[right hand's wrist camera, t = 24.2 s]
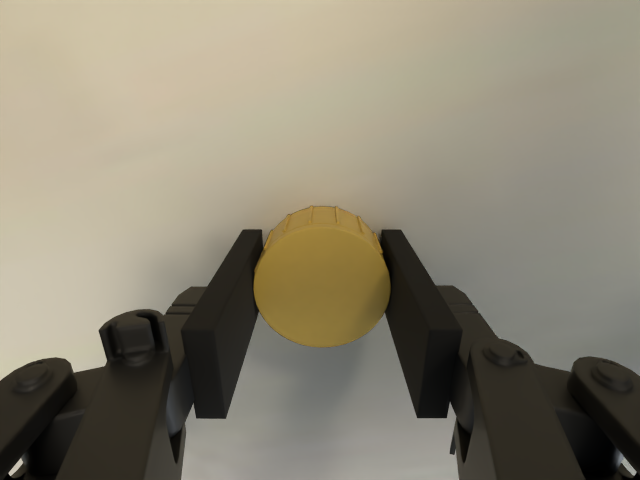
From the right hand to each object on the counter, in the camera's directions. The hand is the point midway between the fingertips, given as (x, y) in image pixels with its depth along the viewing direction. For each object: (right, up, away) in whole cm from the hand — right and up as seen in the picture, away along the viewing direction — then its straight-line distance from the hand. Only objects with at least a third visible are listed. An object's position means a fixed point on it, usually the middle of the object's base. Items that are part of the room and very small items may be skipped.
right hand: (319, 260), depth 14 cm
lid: (0, -1, -2) cm, 2 cm away
